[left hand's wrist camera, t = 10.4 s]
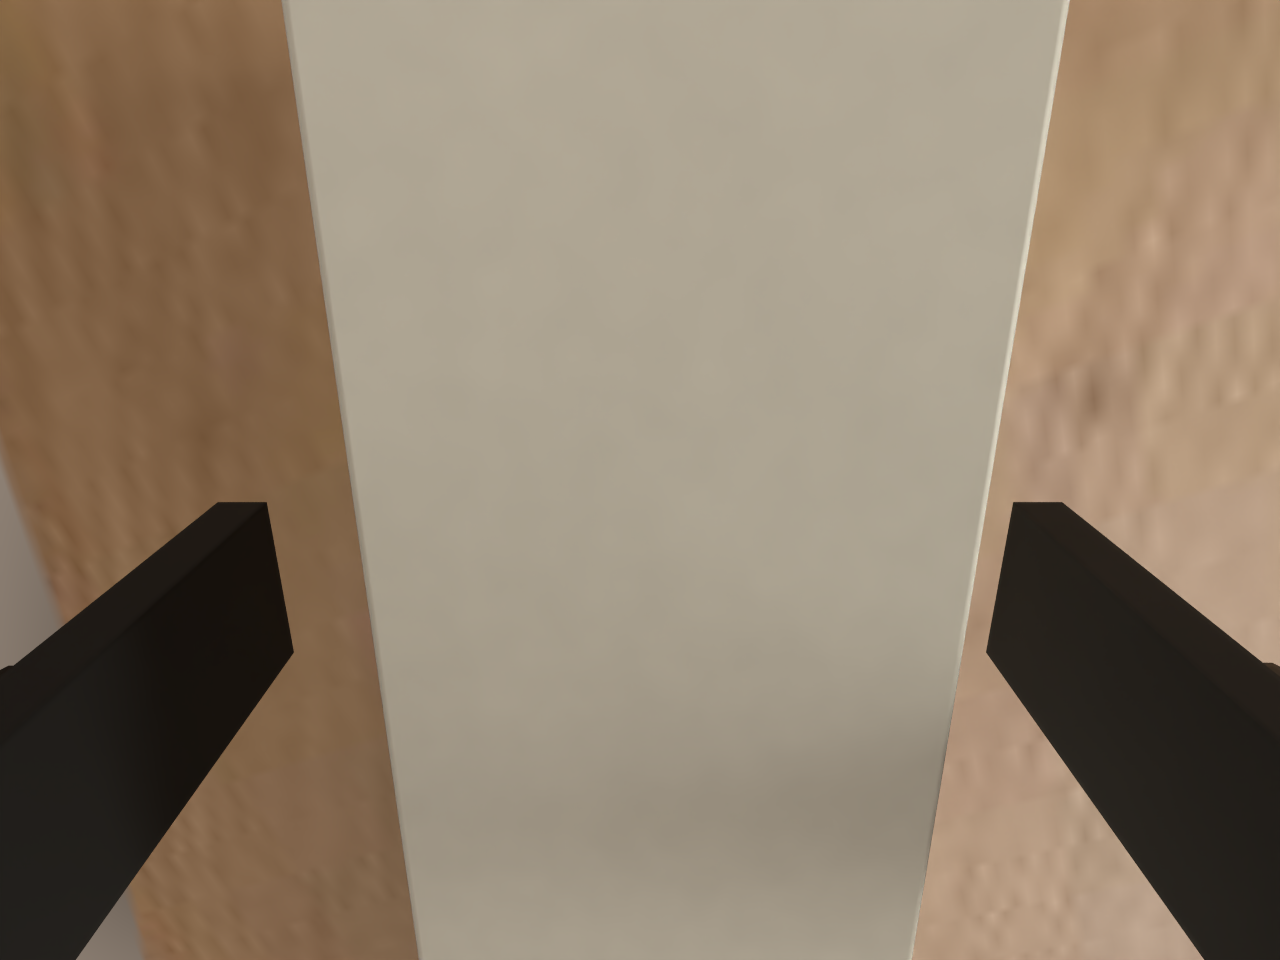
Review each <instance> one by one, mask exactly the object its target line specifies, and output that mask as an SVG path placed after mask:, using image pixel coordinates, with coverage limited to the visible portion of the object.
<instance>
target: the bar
mask: <svg viewBox="0 0 1280 960" xmlns="http://www.w3.org/2000/svg"><path fill="white" fill-rule="evenodd" d="M1069 2H1070V0H282V7H283V14H284V21H285V28H286V35H287V42H288V49H289V56H290V63H291V70H292V77H293V84H294V91H295V98H296V105H297V112H298V119H299V126H300V133H301V140H302V147H303V154H304V161H305V168H306V175H307V182H308V189H309V196H310V203H311V210H312V217H313V224H314V231H315V238H316V245H317V252H318V259H319V266H320V273H321V280H322V287H323V294H324V301H325V308H326V315H327V321H328V328H329V335H330V342H331V349H332V356H333V363H334V370H335V377H336V384H337V391H338V398H339V405H340V412H341V419H342V426H343V433H344V440H345V447H346V454H347V461H348V468H349V475H350V482H351V489H352V496H353V503H354V510H355V517H356V524H357V531H358V538H359V545H360V552H361V559H362V566H363V573H364V580H365V587H366V594H367V601H368V608H369V615H370V622H371V629H372V636H373V643H374V650H375V657H376V664H377V671H378V678H379V685H380V692H381V699H382V706H383V713H384V720H385V726H386V733H387V740H388V747H389V754H390V761H391V768H392V775H393V782H394V789H395V796H396V803H397V810H398V817H399V824H400V831H401V838H402V845H403V852H404V859H405V866H406V873H407V880H408V887H409V894H410V901H411V908H412V915H413V922H414V929H415V936H416V943H417V950H418V957H419V960H912V955H913V949H914V943H915V937H916V931H917V925H918V919H919V913H920V906H921V900H922V894H923V888H924V882H925V876H926V870H927V864H928V858H929V852H930V846H931V840H932V834H933V828H934V821H935V815H936V809H937V803H938V797H939V791H940V785H941V779H942V773H943V767H944V761H945V755H946V749H947V743H948V736H949V730H950V724H951V718H952V712H953V706H954V700H955V694H956V688H957V682H958V676H959V670H960V664H961V658H962V651H963V645H964V639H965V633H966V627H967V621H968V615H969V609H970V603H971V597H972V591H973V585H974V579H975V573H976V566H977V560H978V554H979V548H980V542H981V536H982V530H983V524H984V518H985V512H986V506H987V500H988V494H989V488H990V481H991V475H992V469H993V463H994V457H995V451H996V445H997V439H998V433H999V427H1000V421H1001V415H1002V409H1003V403H1004V396H1005V390H1006V384H1007V378H1008V372H1009V366H1010V360H1011V354H1012V348H1013V342H1014V336H1015V330H1016V324H1017V318H1018V311H1019V305H1020V299H1021V293H1022V287H1023V281H1024V275H1025V269H1026V263H1027V257H1028V251H1029V245H1030V239H1031V233H1032V226H1033V220H1034V214H1035V208H1036V202H1037V196H1038V190H1039V184H1040V178H1041V172H1042V166H1043V160H1044V154H1045V148H1046V141H1047V135H1048V129H1049V123H1050V117H1051V111H1052V105H1053V99H1054V93H1055V87H1056V81H1057V75H1058V69H1059V63H1060V56H1061V50H1062V44H1063V38H1064V32H1065V26H1066V20H1067V14H1068V8H1069Z"/></svg>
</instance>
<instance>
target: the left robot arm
mask: <svg viewBox="0 0 1280 960" xmlns="http://www.w3.org/2000/svg"><path fill="white" fill-rule="evenodd" d="M293 653H294V650H293V645H292V639H291V634H290V628H289V623H288V617H287V612H286V606H285V601H284V595H283V590H282V584H281V579H280V573H279V568H278V562H277V557H276V551H275V546H274V540H273V535H272V529H271V524H270V518H269V513H268V507H267V502H218V503H216V504H215V505H214V506H213V507H211V508H210V509H209V510H208V511H206V512H205V513H204V514H203V515H201V516H200V517H199V518H198V519H196V520H195V521H194V522H193V523H191V524H190V525H189V526H188V527H186V528H185V529H184V530H183V531H181V532H180V533H179V534H178V535H176V536H175V537H174V538H173V539H171V540H170V541H169V542H168V543H166V544H165V545H164V546H163V547H161V548H160V549H159V550H158V551H156V552H155V553H154V554H153V555H151V556H150V557H149V558H148V559H146V560H145V561H144V562H143V563H141V564H140V565H139V566H138V567H136V568H135V569H134V570H133V571H131V572H130V573H129V574H128V575H126V576H125V577H124V578H123V579H121V580H120V581H119V582H118V583H116V584H115V585H114V586H113V587H111V588H110V589H109V590H108V591H106V592H105V593H104V594H103V595H101V596H100V597H99V598H98V599H96V600H95V601H94V602H93V603H91V604H90V605H89V606H88V607H86V608H85V609H84V610H83V611H81V612H80V613H79V614H78V615H76V616H75V617H74V618H73V619H71V620H70V621H69V622H68V623H66V624H65V625H64V626H63V627H61V628H60V629H59V630H58V631H56V632H55V633H54V634H53V635H51V636H50V637H49V638H48V639H46V640H45V641H44V642H43V643H41V644H40V645H39V646H38V647H36V648H35V649H34V650H33V651H31V652H30V653H29V654H28V655H26V656H25V657H24V658H23V659H21V660H20V661H19V662H18V663H16V664H15V665H14V666H7V667H5V668H3V669H1V670H0V960H76V959H77V957H78V956H79V954H80V953H81V951H82V950H83V949H84V947H85V946H86V944H87V943H88V942H89V940H90V939H91V937H92V936H93V935H94V933H95V932H96V930H97V929H98V927H99V926H100V925H101V923H102V922H103V920H104V919H105V918H106V916H107V915H108V913H109V912H110V911H111V909H112V908H113V906H114V905H115V904H116V902H117V901H118V899H119V898H120V897H121V895H122V894H123V892H124V891H125V890H126V888H127V887H128V885H129V884H130V882H131V881H132V880H133V878H134V877H135V875H136V874H137V873H138V871H139V870H140V868H141V867H142V866H143V864H144V863H145V861H146V860H147V859H148V857H149V856H150V854H151V853H152V851H153V850H154V849H155V847H156V846H157V844H158V843H159V842H160V840H161V839H162V837H163V836H164V835H165V833H166V832H167V830H168V829H169V828H170V826H171V825H172V823H173V822H174V820H175V819H176V818H177V816H178V815H179V813H180V812H181V811H182V809H183V808H184V806H185V805H186V804H187V802H188V801H189V799H190V798H191V797H192V795H193V794H194V792H195V791H196V789H197V788H198V787H199V785H200V784H201V782H202V781H203V780H204V778H205V777H206V775H207V774H208V773H209V771H210V770H211V768H212V767H213V766H214V764H215V763H216V761H217V760H218V758H219V757H220V756H221V754H222V753H223V751H224V750H225V749H226V747H227V746H228V744H229V743H230V742H231V740H232V739H233V737H234V736H235V735H236V733H237V732H238V730H239V729H240V727H241V726H242V725H243V723H244V722H245V720H246V719H247V718H248V716H249V715H250V713H251V712H252V711H253V709H254V708H255V706H256V705H257V704H258V702H259V701H260V699H261V698H262V696H263V695H264V694H265V692H266V691H267V689H268V688H269V687H270V685H271V684H272V682H273V681H274V680H275V678H276V677H277V675H278V674H279V673H280V671H281V670H282V668H283V667H284V665H285V664H286V663H287V661H288V660H289V658H290V657H291V656H292V654H293ZM986 653H987V654H988V656H989V657H990V658H991V660H992V661H993V663H994V664H995V666H996V667H997V668H998V670H999V671H1000V673H1001V674H1002V675H1003V677H1004V678H1005V680H1006V681H1007V682H1008V684H1009V685H1010V687H1011V688H1012V689H1013V691H1014V692H1015V694H1016V695H1017V697H1018V698H1019V699H1020V701H1021V702H1022V704H1023V705H1024V706H1025V708H1026V709H1027V711H1028V712H1029V713H1030V715H1031V716H1032V718H1033V719H1034V720H1035V722H1036V723H1037V725H1038V726H1039V728H1040V729H1041V730H1042V732H1043V733H1044V735H1045V736H1046V737H1047V739H1048V740H1049V742H1050V743H1051V744H1052V746H1053V747H1054V749H1055V750H1056V751H1057V753H1058V754H1059V756H1060V757H1061V759H1062V760H1063V761H1064V763H1065V764H1066V766H1067V767H1068V768H1069V770H1070V771H1071V773H1072V774H1073V775H1074V777H1075V778H1076V780H1077V781H1078V782H1079V784H1080V785H1081V787H1082V788H1083V790H1084V791H1085V792H1086V794H1087V795H1088V797H1089V798H1090V799H1091V801H1092V802H1093V804H1094V805H1095V806H1096V808H1097V809H1098V811H1099V812H1100V813H1101V815H1102V816H1103V818H1104V819H1105V821H1106V822H1107V823H1108V825H1109V826H1110V828H1111V829H1112V830H1113V832H1114V833H1115V835H1116V836H1117V837H1118V839H1119V840H1120V842H1121V843H1122V844H1123V846H1124V847H1125V849H1126V850H1127V852H1128V853H1129V854H1130V856H1131V857H1132V859H1133V860H1134V861H1135V863H1136V864H1137V866H1138V867H1139V868H1140V870H1141V871H1142V873H1143V874H1144V875H1145V877H1146V878H1147V880H1148V881H1149V882H1150V884H1151V885H1152V887H1153V888H1154V890H1155V891H1156V892H1157V894H1158V895H1159V897H1160V898H1161V899H1162V901H1163V902H1164V904H1165V905H1166V906H1167V908H1168V909H1169V911H1170V912H1171V913H1172V915H1173V916H1174V918H1175V919H1176V921H1177V922H1178V923H1179V925H1180V926H1181V928H1182V929H1183V930H1184V932H1185V933H1186V935H1187V936H1188V937H1189V939H1190V940H1191V942H1192V943H1193V944H1194V946H1195V947H1196V949H1197V950H1198V952H1199V953H1200V954H1201V956H1202V957H1203V959H1204V960H1280V667H1279V666H1278V665H1276V664H1274V663H1262V662H1261V661H1260V660H1259V659H1257V658H1256V657H1255V656H1254V655H1252V654H1251V653H1250V652H1249V651H1247V650H1246V649H1245V648H1244V647H1242V646H1241V645H1240V644H1239V643H1237V642H1236V641H1235V640H1234V639H1232V638H1231V637H1230V636H1229V635H1227V634H1226V633H1225V632H1224V631H1222V630H1221V629H1220V628H1219V627H1217V626H1216V625H1215V624H1214V623H1212V622H1211V621H1210V620H1209V619H1207V618H1206V617H1205V616H1204V615H1202V614H1201V613H1200V612H1199V611H1197V610H1196V609H1195V608H1194V607H1192V606H1191V605H1190V604H1189V603H1187V602H1186V601H1185V600H1184V599H1182V598H1181V597H1180V596H1179V595H1177V594H1176V593H1175V592H1174V591H1172V590H1171V589H1170V588H1169V587H1167V586H1166V585H1165V584H1164V583H1162V582H1161V581H1160V580H1159V579H1157V578H1156V577H1155V576H1154V575H1152V574H1151V573H1150V572H1149V571H1147V570H1146V569H1145V568H1144V567H1142V566H1141V565H1140V564H1139V563H1137V562H1136V561H1135V560H1134V559H1132V558H1131V557H1130V556H1129V555H1127V554H1126V553H1125V552H1124V551H1122V550H1121V549H1120V548H1119V547H1117V546H1116V545H1115V544H1114V543H1112V542H1111V541H1110V540H1109V539H1107V538H1106V537H1105V536H1104V535H1102V534H1101V533H1100V532H1099V531H1097V530H1096V529H1095V528H1094V527H1092V526H1091V525H1090V524H1089V523H1087V522H1086V521H1085V520H1084V519H1082V518H1081V517H1080V516H1079V515H1077V514H1076V513H1075V512H1074V511H1072V510H1071V509H1070V508H1069V507H1067V506H1066V505H1065V504H1064V503H1062V502H1013V507H1012V513H1011V518H1010V524H1009V529H1008V535H1007V540H1006V546H1005V551H1004V557H1003V562H1002V568H1001V573H1000V579H999V584H998V590H997V595H996V601H995V606H994V612H993V617H992V623H991V628H990V634H989V639H988V645H987V650H986Z"/></svg>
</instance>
